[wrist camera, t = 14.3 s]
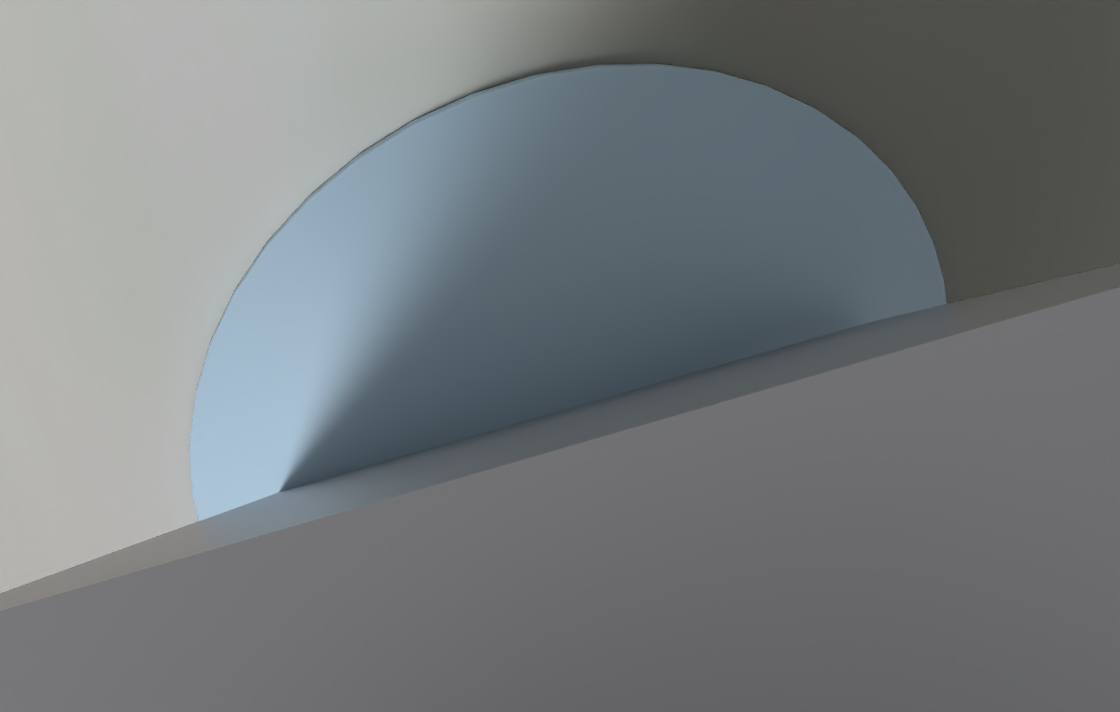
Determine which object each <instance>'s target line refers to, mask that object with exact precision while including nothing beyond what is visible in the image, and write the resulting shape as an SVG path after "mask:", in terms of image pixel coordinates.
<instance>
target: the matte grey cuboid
mask: <svg viewBox="0 0 1120 712" xmlns="http://www.w3.org/2000/svg"><path fill="white" fill-rule="evenodd" d="M0 712H1120V263H1118V264H1114V265H1110V266H1106V267H1102V268H1097V269H1093V270H1089V271H1085V272H1080V273H1076V274H1072V275H1068V276H1063V277H1059V278H1055V279H1051V280H1046V281H1042V282H1038V283H1034V284H1029V285H1025V286H1021V287H1017V288H1012V289H1008V290H1004V291H1000V292H996V293H991V294H987V295H983V296H979V297H974V298H970V299H966V300H962V301H957V302H953V303H949V304H945V305H940V306H936V307H932V308H928V309H923V310H919V311H915V312H911V313H907V314H902V315H898V316H894V317H890V318H885V319H881V320H877V321H873V322H869V323H866V324H862V325H859V326H856V327H852V328H849V329H845V330H842V331H838V332H835V333H831V334H828V335H824V336H821V337H817V338H814V339H810V340H807V341H803V342H800V343H796V344H793V345H789V346H786V347H782V348H779V349H775V350H772V351H768V352H765V353H761V354H758V355H754V356H751V357H747V358H744V359H740V360H737V361H733V362H730V363H726V364H723V365H719V366H716V367H712V368H709V369H705V370H702V371H698V372H695V373H692V374H688V375H685V376H681V377H678V378H674V379H671V380H667V381H664V382H660V383H657V384H653V385H650V386H646V387H643V388H639V389H636V390H632V391H629V392H625V393H622V394H619V395H615V396H612V397H608V398H605V399H601V400H598V401H594V402H591V403H587V404H584V405H580V406H577V407H573V408H570V409H566V410H563V411H560V412H556V413H553V414H549V415H546V416H542V417H539V418H535V419H532V420H528V421H525V422H521V423H518V424H514V425H511V426H507V427H504V428H500V429H497V430H494V431H490V432H487V433H483V434H480V435H476V436H473V437H469V438H466V439H462V440H459V441H455V442H452V443H448V444H445V445H441V446H438V447H434V448H431V449H428V450H424V451H421V452H417V453H414V454H410V455H407V456H403V457H400V458H396V459H393V460H389V461H386V462H382V463H379V464H375V465H372V466H368V467H365V468H362V469H358V470H355V471H351V472H348V473H344V474H341V475H337V476H334V477H330V478H327V479H323V480H320V481H316V482H313V483H309V484H306V485H303V486H299V487H296V488H292V489H289V490H285V491H282V492H278V493H276V494H273V495H270V496H267V497H265V498H262V499H259V500H256V501H254V502H251V503H248V504H245V505H243V506H240V507H237V508H234V509H232V510H229V511H226V512H223V513H221V514H218V515H215V516H212V517H210V518H207V519H204V520H201V521H199V522H196V523H193V524H190V525H188V526H185V527H182V528H179V529H177V530H174V531H171V532H168V533H166V534H163V535H160V536H157V537H155V538H152V539H149V540H146V541H144V542H141V543H138V544H135V545H133V546H130V547H127V548H124V549H122V550H119V551H116V552H113V553H111V554H108V555H105V556H102V557H100V558H97V559H94V560H91V561H89V562H86V563H83V564H80V565H78V566H75V567H72V568H69V569H67V570H64V571H61V572H58V573H56V574H53V575H50V576H47V577H45V578H42V579H39V580H36V581H34V582H31V583H28V584H25V585H23V586H20V587H17V588H14V589H12V590H9V591H6V592H3V593H1V594H0Z"/></svg>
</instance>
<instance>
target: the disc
mask: <svg viewBox="0 0 1120 712" xmlns="http://www.w3.org/2000/svg"><path fill="white" fill-rule="evenodd" d="M945 304H947V302H946V293H945V284H944V279H943V275H942V272H941V268H940V264H939V261H938V257H937V253H936V250H935V246H934V243H933V241H932V238H931V236H930V234H929V232H928V230H927V228H926V226H925V223H924V221H923V219H922V217H921V215H920V213H919V211H918V209H917V206H916V205H915V203H914V202H913V200H912V199H911V198H910V196H909V195H908V193H907V192H906V191H905V189H904V188H903V186H902V185H901V183H900V182H899V181H898V179H897V178H896V176H895V175H894V173H893V172H892V171H891V170H890V169H889V168H888V167H887V166H886V165H885V164H884V163H883V162H882V161H881V160H880V159H879V158H878V157H877V156H876V155H875V154H874V153H873V152H872V151H871V150H870V149H869V148H868V147H867V146H866V145H865V144H864V143H863V142H862V141H861V140H860V139H859V138H858V137H856V136H855V135H853V134H852V133H850V132H849V131H847V130H846V129H845V128H843V127H842V126H840V125H839V124H837V123H836V122H834V121H833V120H832V119H830V118H829V117H827V116H826V115H824V114H823V113H821V112H820V111H818V110H816V109H814V108H813V107H811V106H809V105H806V104H804V103H802V102H800V101H798V100H796V99H794V98H791V97H789V96H787V95H785V94H783V93H781V92H779V91H776V90H774V89H772V88H770V87H768V86H766V85H763V84H759V83H755V82H752V81H748V80H745V79H741V78H738V77H734V76H731V75H727V74H724V73H720V72H717V71H713V70H705V69H697V68H689V67H681V66H673V65H665V64H657V63H655V64H609V65H592V66H585V67H579V68H573V69H567V70H561V71H554V72H548V73H542V74H536V75H532V76H528V77H525V78H522V79H519V80H515V81H512V82H509V83H505V84H502V85H499V86H496V87H492V88H489V89H486V90H482V91H479V92H476V93H473V94H470V95H468V96H466V97H464V98H461V99H459V100H457V101H455V102H453V103H450V104H448V105H446V106H444V107H442V108H439V109H437V110H435V111H433V112H431V113H428V114H426V115H424V116H422V117H420V118H418V119H415V120H413V121H411V122H410V123H408V124H407V125H405V126H403V127H402V128H400V129H399V130H397V131H395V132H394V133H392V134H391V135H389V136H387V137H386V138H384V139H383V140H381V141H380V142H378V143H376V144H375V145H373V146H372V147H370V148H368V149H367V150H365V151H364V152H362V153H360V154H359V155H357V156H356V157H355V158H354V159H352V160H351V161H350V162H349V163H348V164H346V165H345V166H344V167H343V168H342V169H340V170H339V171H338V172H337V173H336V174H334V175H333V176H332V177H331V178H330V179H328V180H327V181H326V182H325V183H324V184H322V185H321V186H320V187H319V188H318V189H316V190H315V191H314V192H313V193H312V194H310V195H309V196H308V197H307V198H306V199H305V201H304V202H303V203H302V204H301V205H300V206H299V207H298V208H297V209H296V210H295V212H294V213H293V214H292V215H291V216H290V217H289V218H288V219H287V220H286V221H285V223H284V224H283V225H282V226H281V227H280V228H279V229H278V230H277V231H276V232H275V233H274V235H273V236H272V237H271V238H270V239H269V240H268V241H267V243H266V244H265V246H264V247H263V249H262V250H261V252H260V253H259V255H258V256H257V257H256V259H255V260H254V262H253V263H252V265H251V266H250V268H249V269H248V271H247V272H246V274H245V275H244V277H243V278H242V280H241V281H240V283H239V284H238V285H237V287H236V288H235V290H234V292H233V294H232V297H231V299H230V301H229V303H228V305H227V307H226V309H225V311H224V313H223V315H222V318H221V320H220V322H219V324H218V326H217V328H216V330H215V332H214V334H213V336H212V339H211V342H210V345H209V349H208V352H207V355H206V359H205V362H204V366H203V369H202V373H201V376H200V379H199V383H198V386H197V390H196V395H195V402H194V411H193V419H192V428H191V436H190V445H189V451H190V469H191V486H192V495H193V499H194V504H195V508H196V512H197V516H198V520H199V521H201V520H204V519H207V518H210V517H212V516H215V515H218V514H221V513H223V512H226V511H229V510H232V509H234V508H237V507H240V506H243V505H245V504H248V503H251V502H254V501H256V500H259V499H262V498H265V497H267V496H270V495H273V494H276V493H278V492H282V491H285V490H289V489H292V488H296V487H299V486H303V485H306V484H309V483H313V482H316V481H320V480H323V479H327V478H330V477H334V476H337V475H341V474H344V473H348V472H351V471H355V470H358V469H362V468H365V467H368V466H372V465H375V464H379V463H382V462H386V461H389V460H393V459H396V458H400V457H403V456H407V455H410V454H414V453H417V452H421V451H424V450H428V449H431V448H434V447H438V446H441V445H445V444H448V443H452V442H455V441H459V440H462V439H466V438H469V437H473V436H476V435H480V434H483V433H487V432H490V431H494V430H497V429H500V428H504V427H507V426H511V425H514V424H518V423H521V422H525V421H528V420H532V419H535V418H539V417H542V416H546V415H549V414H553V413H556V412H560V411H563V410H566V409H570V408H573V407H577V406H580V405H584V404H587V403H591V402H594V401H598V400H601V399H605V398H608V397H612V396H615V395H619V394H622V393H625V392H629V391H632V390H636V389H639V388H643V387H646V386H650V385H653V384H657V383H660V382H664V381H667V380H671V379H674V378H678V377H681V376H685V375H688V374H692V373H695V372H698V371H702V370H705V369H709V368H712V367H716V366H719V365H723V364H726V363H730V362H733V361H737V360H740V359H744V358H747V357H751V356H754V355H758V354H761V353H765V352H768V351H772V350H775V349H779V348H782V347H786V346H789V345H793V344H796V343H800V342H803V341H807V340H810V339H814V338H817V337H821V336H824V335H828V334H831V333H835V332H838V331H842V330H845V329H849V328H852V327H856V326H859V325H862V324H866V323H869V322H873V321H877V320H881V319H885V318H890V317H894V316H898V315H902V314H907V313H911V312H915V311H919V310H923V309H928V308H932V307H936V306H940V305H945Z"/></svg>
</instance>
